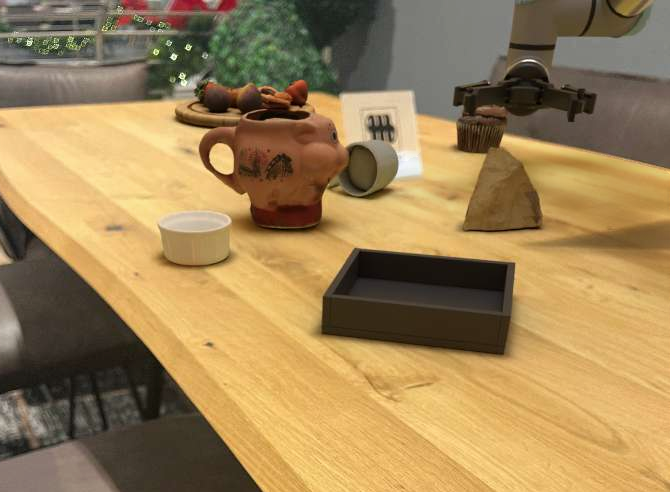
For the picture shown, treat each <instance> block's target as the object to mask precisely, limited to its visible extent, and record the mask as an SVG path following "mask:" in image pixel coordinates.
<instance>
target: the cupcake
mask: <svg viewBox="0 0 670 492" xmlns="http://www.w3.org/2000/svg"><path fill="white" fill-rule="evenodd" d="M461 114H462V115H460V116H459V117H458V118H457V119H456V120H455V125H456V141H457V143H456V144H457V145H456V146H457V147H456V148H457V149H458V150H460V151H463V152H467V153H481V154H482V153H486V154H487V153H488V150H489V148H490V147H493V148H500V145H501V143H502V140H503V137H504V133H505V132H506V128H507V126H508V121H509V119H508V118H507V116H508V114H509V112H508V111H507V110H506V109H505V108H504V107H498V106H495V105H486V106H478V107H477V110H476V112H475V114H474V116H468V114H469V113H464V107H463V108H462V110H461Z"/></svg>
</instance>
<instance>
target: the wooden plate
mask: <svg viewBox="0 0 670 492" xmlns="http://www.w3.org/2000/svg"><path fill="white" fill-rule="evenodd" d="M210 80H211V78H210V77H209V78H207V79H205V80H203V81H200V82H198V81H197V82H196V83H195V87H196V88H194V90H193V93H192V94H194V97H196V99H190V100H186V101H183V102H181V103H178V104H177V105H176V106H175V109H174V114H175V116H176V117H177V118H178V119H179V120H180V121H183V122H185V123H189V124H193V125H197V126H198V125H199V126H204V127H205V126H206V127H215V128H217V127H236V126H237V125H238V124H239V121H240V118H241V116H242V115H244V114H246V113H249V112H252V111H256V110H263V109H275V110H293V111H310V112H313V113H316V109H315V107H314V105H312V104H310V103H308V102H307V101H308V98H309V91H308V90H309V89H308V88H309V87H308V84H307V82H306V81H305V80H303V79H297V80H295V81H291V83H289V84H288V86H287V87H285V88H284V89H283V91H281V92H279V91H278V90H276V89H275V88H274V87H272V86H269V85H264V86H261V87H257V86H256V85H255V83H254V82H249V83H248V84H246V85H244V86H243V87H234V88H233V87H229V86H223V85H221V84H220V83H218V82H215V81H210Z"/></svg>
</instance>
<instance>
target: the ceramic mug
mask: <svg viewBox="0 0 670 492" xmlns="http://www.w3.org/2000/svg"><path fill="white" fill-rule="evenodd" d="M344 147H345V148H346V149H347V150H348V152H349V162H348V165H347V166H346V168H345V169H344V170H343V171H342V172H340V173H339V174H338V175H337V176H335V177H334V178H333V179H332V180H331V181H330V182H329V184H328V186H329V187H335V186H338V185H339V186H340V188H341V189H342V190H343V191H344V192H345V193H346V194H348V195H349V196H352V197H357V198H358V197H365V196H367V195H370V194H372V193H374V192H377V191H379V190H382V189H384V188H386V187H388V186H389V185H390V184H391V183H392V182H393V181H394V179H395V178H396V177H397V174H398V171H399V167H400V164H399V157H398V154H397V152H396V149H395V148H394V147H393V146H392V145H391V143H389V142H387V141H385V140H381V139H370V140H363V141H362V140H361V141H354V142H351V143H348V144H347V145H346V146H344Z"/></svg>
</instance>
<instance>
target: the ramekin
mask: <svg viewBox="0 0 670 492" xmlns="http://www.w3.org/2000/svg"><path fill="white" fill-rule="evenodd" d="M231 227H232V218H231V216H229V215H227V214H225V213H222V212H219V211H214V210H213V211H211V210H184V211H177V212H173V213H169V214H165V215H164V216H162V217H160V218H159V219H158V220H157V228H158V229H159V233H160V238H161V244H162V251H163V254H164V257H165V258H166V259H167V260H168V261H170V262H172V263H174V264H178V265H182V266H195V267H196V266H207V265H212V264H216V263H219V262H222V261H223V260H225V259H227V257H228V256H229V254H230V242H231V241H230V238H231V237H230V235H231Z"/></svg>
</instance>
